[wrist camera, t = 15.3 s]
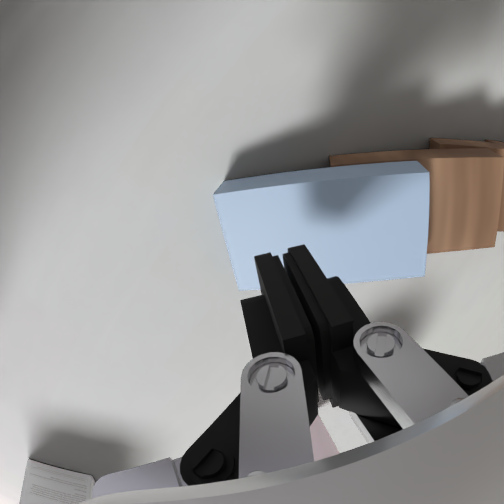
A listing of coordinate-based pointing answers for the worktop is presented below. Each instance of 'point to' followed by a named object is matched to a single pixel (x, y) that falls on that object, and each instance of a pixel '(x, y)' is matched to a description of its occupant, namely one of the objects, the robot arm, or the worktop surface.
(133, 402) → the worktop surface
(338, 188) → the tile
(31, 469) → the supplement box
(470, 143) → the tile
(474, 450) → the robot arm
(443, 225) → the tile
